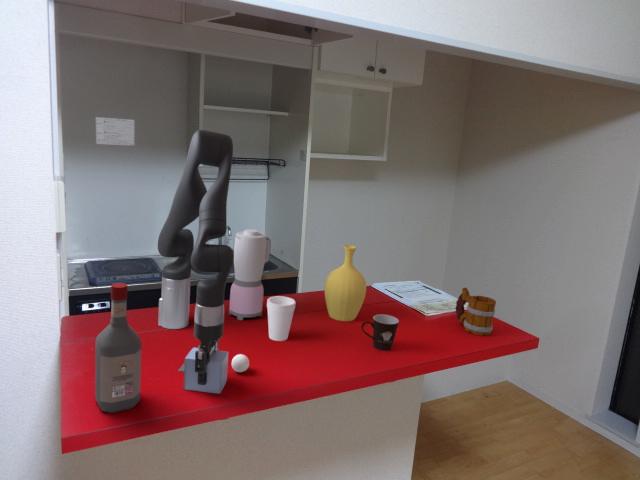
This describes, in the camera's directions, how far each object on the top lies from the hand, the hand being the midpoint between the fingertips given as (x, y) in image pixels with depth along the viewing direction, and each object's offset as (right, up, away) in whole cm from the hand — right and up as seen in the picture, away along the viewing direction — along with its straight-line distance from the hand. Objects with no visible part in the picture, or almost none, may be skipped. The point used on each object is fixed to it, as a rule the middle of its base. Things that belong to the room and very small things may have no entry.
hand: (206, 377), depth 133 cm
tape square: (-4, 0, +11) cm, 11 cm away
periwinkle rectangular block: (0, -2, +1) cm, 2 cm away
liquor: (-19, -3, -11) cm, 22 cm away
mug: (+90, +2, +63) cm, 110 cm away
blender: (+4, +9, +54) cm, 55 cm away
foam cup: (+16, +4, +36) cm, 40 cm away
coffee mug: (+50, 0, +37) cm, 63 cm away
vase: (+39, +7, +61) cm, 73 cm away
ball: (+8, +1, +9) cm, 12 cm away
